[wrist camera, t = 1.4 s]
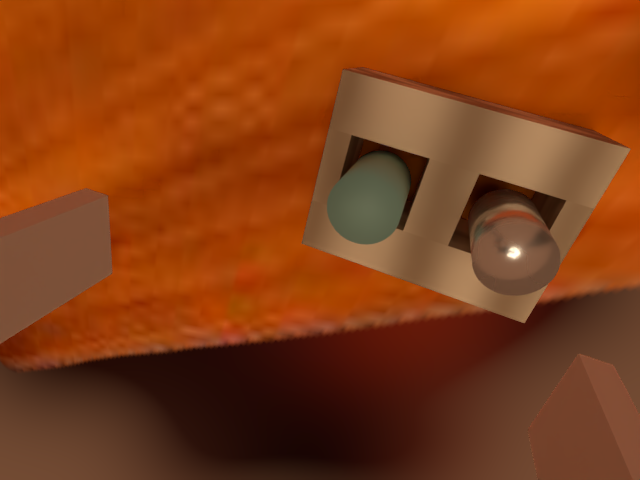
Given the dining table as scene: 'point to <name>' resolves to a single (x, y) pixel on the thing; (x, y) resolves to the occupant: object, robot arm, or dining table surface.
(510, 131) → the socket block
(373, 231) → the teal peg
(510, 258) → the steel peg
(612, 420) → the robot arm
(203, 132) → the dining table surface
